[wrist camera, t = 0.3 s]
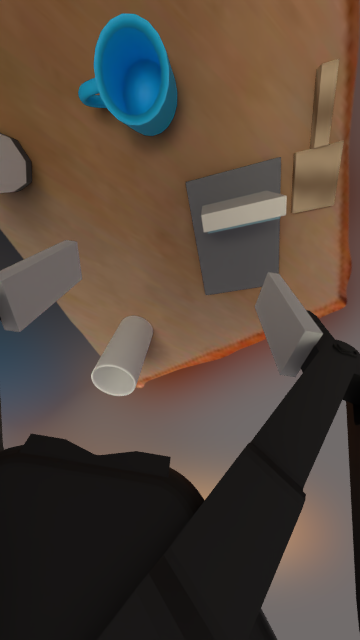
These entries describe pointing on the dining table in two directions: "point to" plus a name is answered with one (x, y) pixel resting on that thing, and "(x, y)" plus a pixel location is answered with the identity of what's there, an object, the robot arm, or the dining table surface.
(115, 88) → the mug
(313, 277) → the dining table surface
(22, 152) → the wine bottle
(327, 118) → the turner
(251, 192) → the mat
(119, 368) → the cup
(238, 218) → the tile
